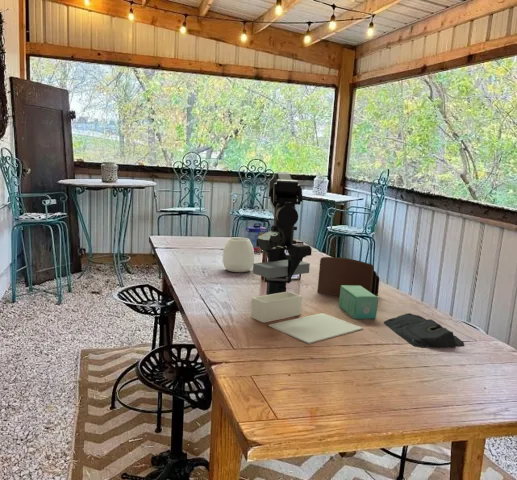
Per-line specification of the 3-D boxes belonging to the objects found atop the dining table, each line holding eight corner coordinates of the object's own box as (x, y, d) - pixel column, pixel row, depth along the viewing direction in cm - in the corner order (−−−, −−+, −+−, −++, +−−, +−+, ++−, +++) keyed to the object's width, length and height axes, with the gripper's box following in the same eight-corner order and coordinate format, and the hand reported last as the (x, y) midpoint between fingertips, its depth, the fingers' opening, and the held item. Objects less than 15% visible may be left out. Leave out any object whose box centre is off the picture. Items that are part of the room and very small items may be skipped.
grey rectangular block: (252, 273, 147) (253, 263, 147) (292, 268, 157) (293, 259, 157) (268, 278, 142) (269, 268, 141) (309, 272, 152) (309, 263, 151)
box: (354, 319, 153) (356, 296, 152) (337, 306, 166) (339, 284, 165) (376, 319, 155) (379, 296, 154) (358, 306, 168) (360, 284, 167)
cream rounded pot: (253, 275, 203) (254, 242, 201) (220, 273, 203) (221, 240, 201) (254, 268, 216) (255, 237, 214) (223, 266, 216) (224, 235, 214)
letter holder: (370, 303, 173) (373, 263, 171) (316, 292, 182) (319, 254, 180) (378, 296, 182) (381, 258, 179) (326, 287, 191) (329, 251, 189)
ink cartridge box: (247, 252, 252) (249, 223, 249) (244, 250, 257) (245, 222, 254) (266, 251, 255) (267, 223, 253) (261, 249, 261) (263, 222, 258)
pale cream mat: (268, 326, 143) (268, 324, 143) (322, 314, 157) (322, 312, 157) (308, 343, 131) (308, 342, 131) (362, 329, 145) (363, 327, 144)
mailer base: (250, 316, 150) (251, 297, 149) (287, 309, 159) (288, 291, 158) (263, 322, 145) (264, 302, 144) (300, 314, 155) (301, 295, 154)
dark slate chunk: (424, 322, 156) (426, 307, 155) (468, 349, 135) (470, 332, 134) (379, 323, 152) (380, 308, 152) (416, 351, 131) (418, 333, 131)
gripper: (243, 219, 149) (240, 270, 152) (285, 228, 135) (281, 284, 137) (272, 218, 156) (269, 267, 159) (314, 226, 142) (310, 280, 144)
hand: (281, 274), depth 150 cm, fingers closed on grey rectangular block, 7 cm apart
